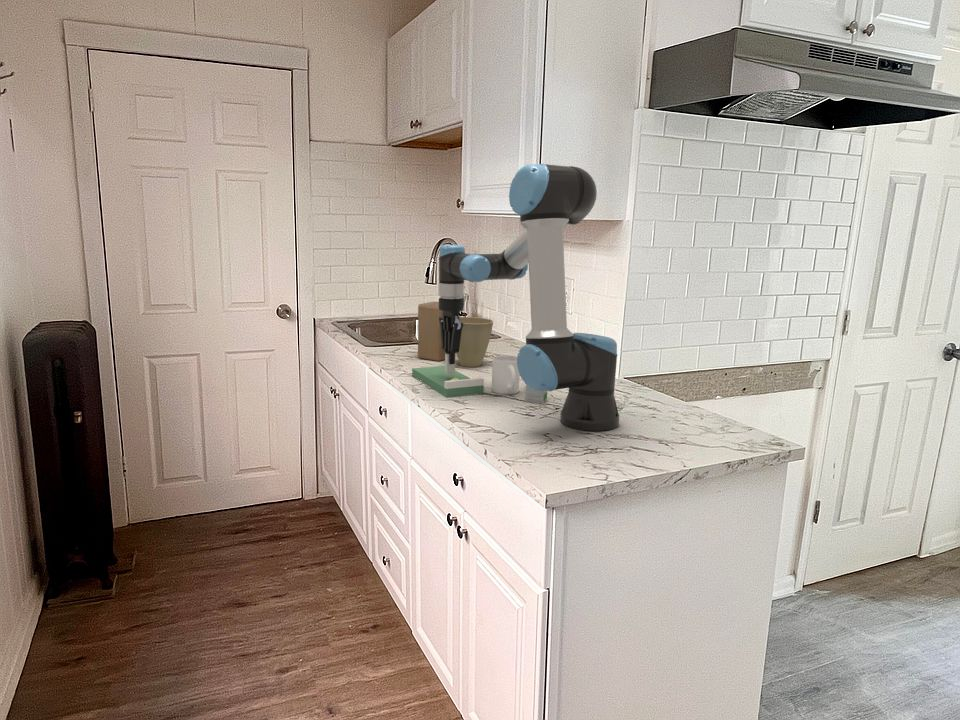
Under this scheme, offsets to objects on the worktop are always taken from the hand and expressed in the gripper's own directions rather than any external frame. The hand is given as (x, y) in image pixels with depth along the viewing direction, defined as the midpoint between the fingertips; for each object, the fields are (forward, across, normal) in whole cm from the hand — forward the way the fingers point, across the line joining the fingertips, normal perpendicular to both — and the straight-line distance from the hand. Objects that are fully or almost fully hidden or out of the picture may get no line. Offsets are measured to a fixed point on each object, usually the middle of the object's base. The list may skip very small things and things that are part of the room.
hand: (450, 373), depth 213 cm
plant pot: (+4, +25, -19) cm, 32 cm away
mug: (+4, -13, -13) cm, 19 cm away
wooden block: (+4, +40, -12) cm, 42 cm away
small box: (+4, -23, -17) cm, 29 cm away
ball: (+2, -4, 0) cm, 5 cm away
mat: (+4, +3, 0) cm, 5 cm away
